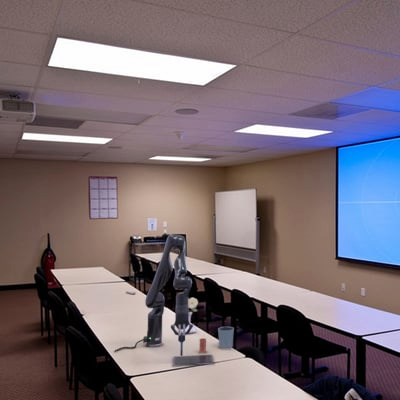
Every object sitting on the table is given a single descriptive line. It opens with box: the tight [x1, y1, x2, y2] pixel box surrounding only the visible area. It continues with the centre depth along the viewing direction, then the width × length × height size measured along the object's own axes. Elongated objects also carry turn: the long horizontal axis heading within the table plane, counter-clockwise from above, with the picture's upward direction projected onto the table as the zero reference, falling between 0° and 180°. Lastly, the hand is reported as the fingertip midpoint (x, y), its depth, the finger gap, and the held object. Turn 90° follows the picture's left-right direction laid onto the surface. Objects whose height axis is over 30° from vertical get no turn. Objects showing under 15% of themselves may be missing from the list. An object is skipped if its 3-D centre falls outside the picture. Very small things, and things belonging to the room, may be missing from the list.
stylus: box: [179, 332, 184, 356], centre depth 243 cm, size 1×1×13 cm
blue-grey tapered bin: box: [217, 326, 235, 350], centre depth 270 cm, size 10×10×12 cm
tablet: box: [172, 354, 214, 367], centre depth 244 cm, size 22×14×1 cm, turn 101°
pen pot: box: [198, 337, 207, 354], centre depth 259 cm, size 4×4×8 cm
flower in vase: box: [181, 297, 199, 334], centre depth 302 cm, size 13×11×25 cm
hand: (181, 341), depth 243 cm, fingers closed on stylus, 1 cm apart
